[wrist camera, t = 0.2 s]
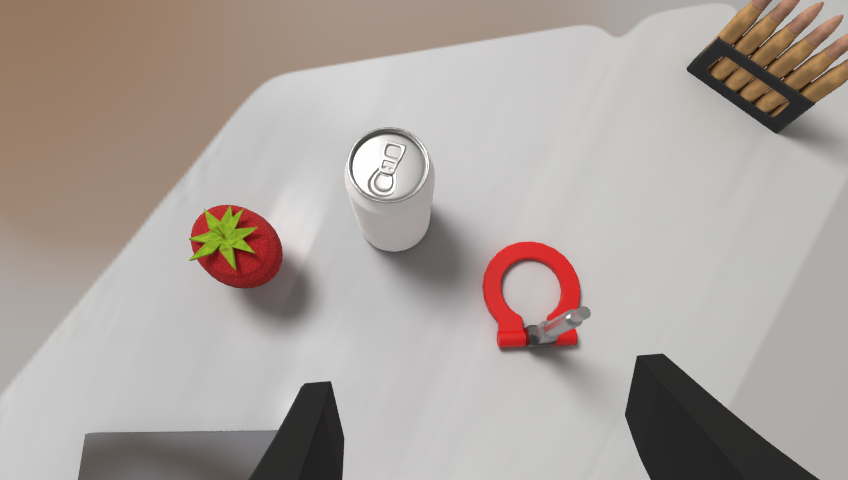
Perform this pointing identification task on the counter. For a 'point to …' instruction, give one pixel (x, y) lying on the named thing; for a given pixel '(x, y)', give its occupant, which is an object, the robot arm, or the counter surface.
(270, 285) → the counter surface
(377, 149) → the can
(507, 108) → the counter surface
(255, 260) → the strawberry
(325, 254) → the counter surface
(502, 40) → the counter surface
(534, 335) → the tow hook
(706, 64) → the ammunition clip
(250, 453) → the holder
